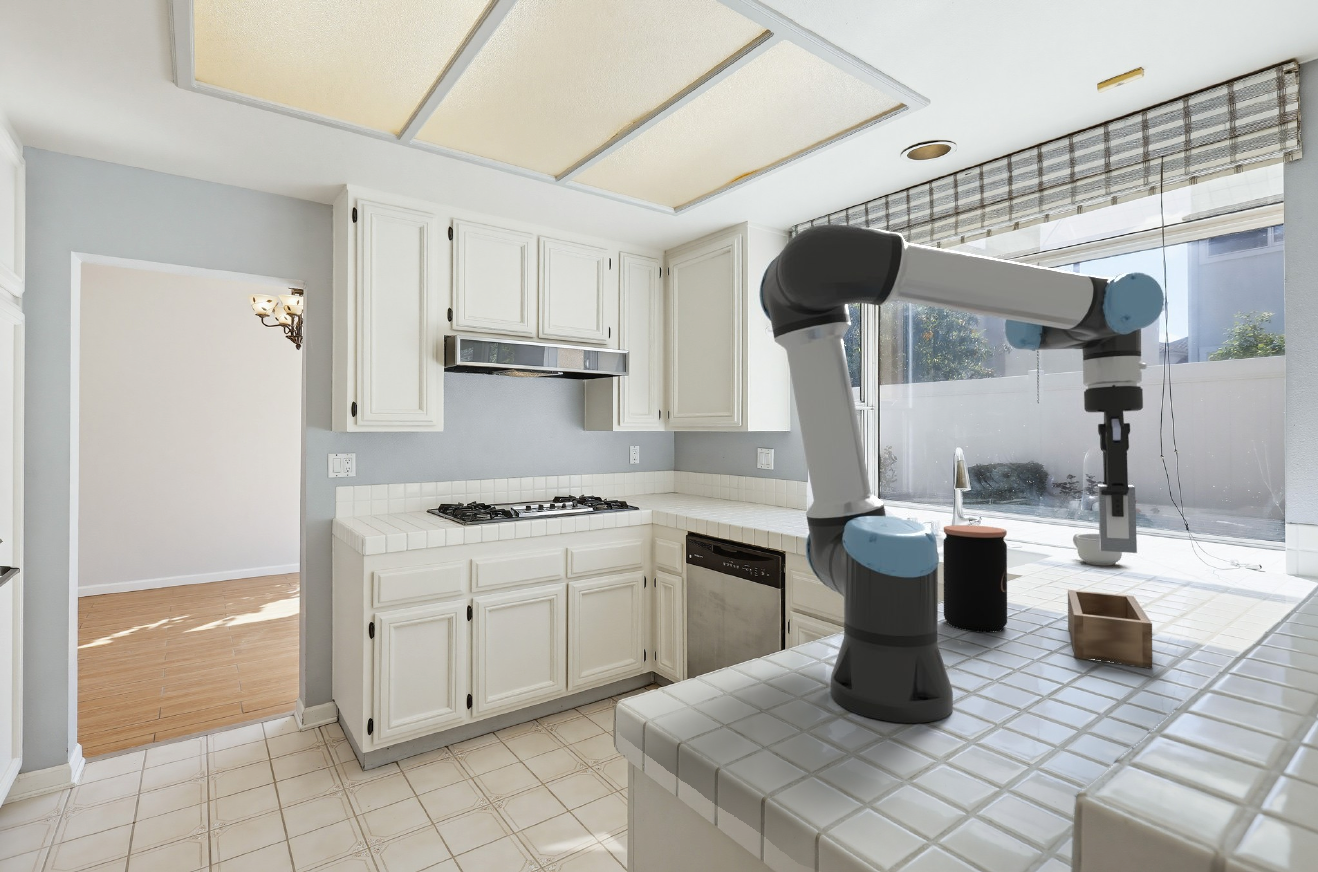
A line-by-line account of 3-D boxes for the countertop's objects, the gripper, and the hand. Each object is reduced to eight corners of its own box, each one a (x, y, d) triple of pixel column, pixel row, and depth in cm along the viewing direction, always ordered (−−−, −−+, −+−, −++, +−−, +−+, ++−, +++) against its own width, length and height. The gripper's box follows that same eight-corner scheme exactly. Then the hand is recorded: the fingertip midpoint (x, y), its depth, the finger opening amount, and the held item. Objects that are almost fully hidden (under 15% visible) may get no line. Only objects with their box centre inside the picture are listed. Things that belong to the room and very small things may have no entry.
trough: (1074, 657, 102) (1074, 614, 103) (1067, 626, 120) (1067, 589, 120) (1152, 668, 98) (1152, 623, 98) (1133, 634, 115) (1133, 595, 115)
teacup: (1131, 567, 179) (1131, 538, 179) (1091, 567, 179) (1091, 538, 179) (1098, 558, 193) (1098, 531, 193) (1061, 558, 193) (1061, 531, 193)
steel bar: (1100, 550, 100) (1099, 486, 101) (1099, 546, 104) (1097, 484, 104) (1136, 553, 98) (1135, 486, 98) (1134, 548, 102) (1132, 484, 102)
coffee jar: (1015, 635, 115) (1015, 533, 115) (951, 631, 117) (950, 531, 117) (996, 619, 125) (996, 525, 125) (938, 616, 127) (937, 524, 128)
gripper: (1148, 380, 92) (1153, 545, 92) (1136, 388, 107) (1140, 530, 107) (1085, 384, 96) (1089, 541, 96) (1082, 391, 111) (1086, 527, 111)
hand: (1116, 535), depth 101 cm, fingers closed on steel bar, 4 cm apart
